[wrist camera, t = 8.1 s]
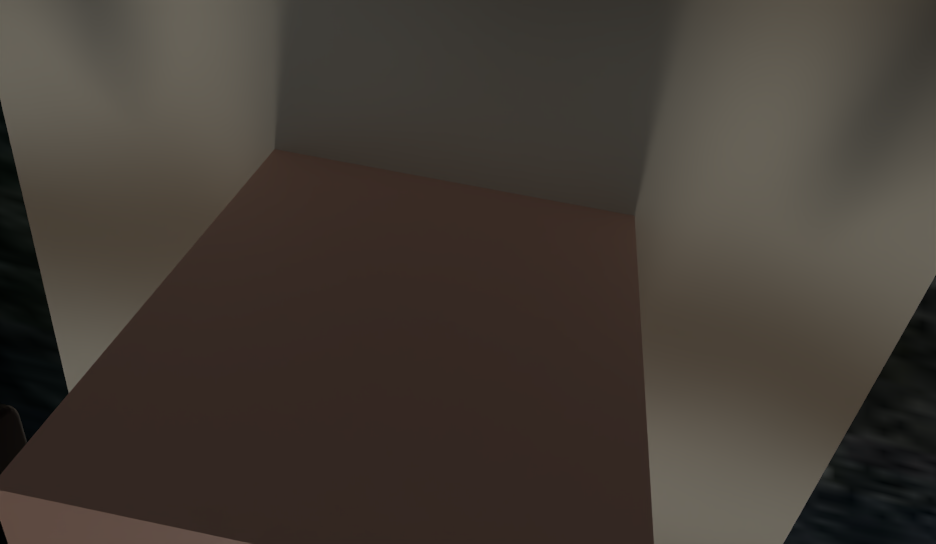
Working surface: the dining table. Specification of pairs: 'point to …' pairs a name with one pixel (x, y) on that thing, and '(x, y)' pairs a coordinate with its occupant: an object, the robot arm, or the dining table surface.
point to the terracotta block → (361, 378)
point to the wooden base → (532, 180)
